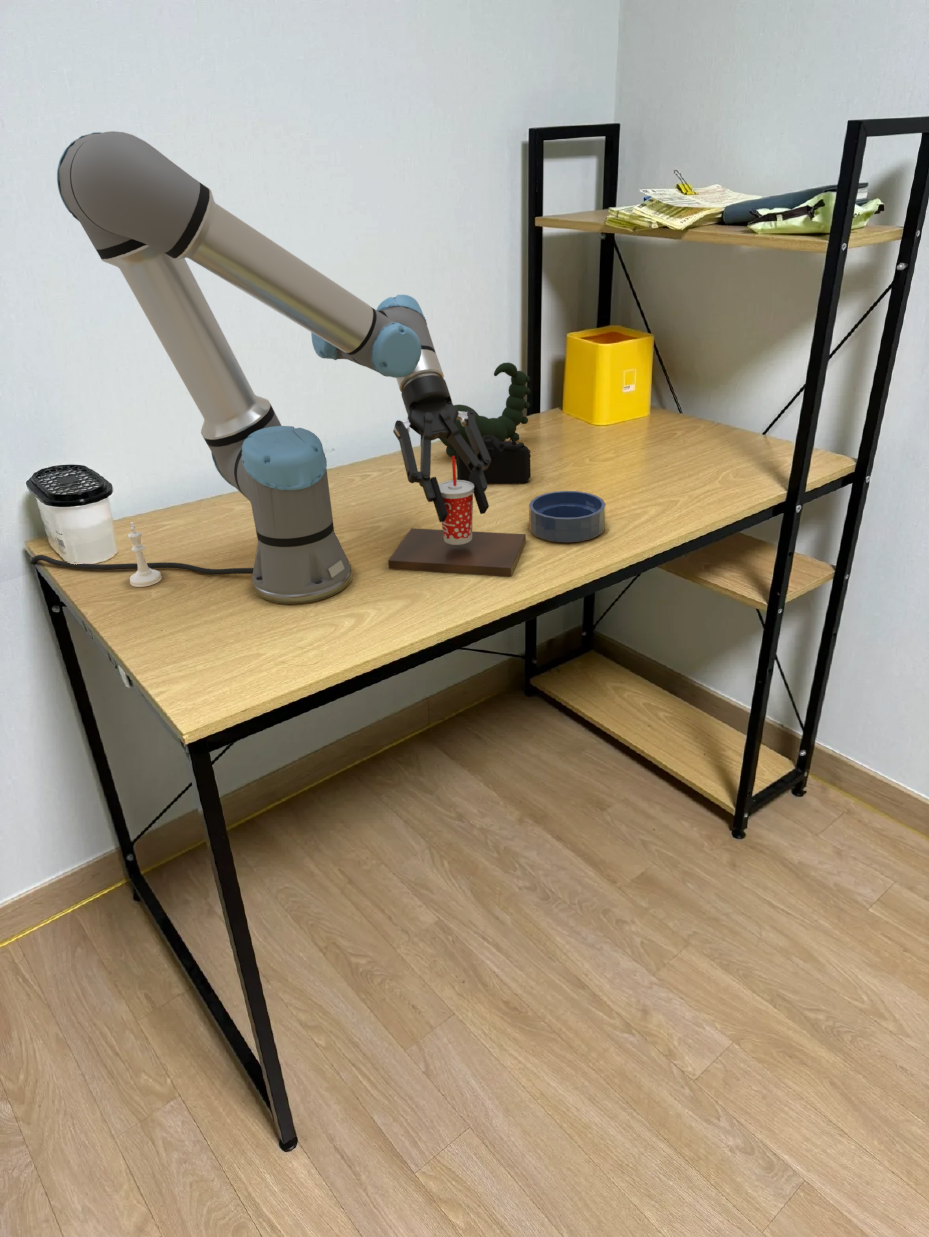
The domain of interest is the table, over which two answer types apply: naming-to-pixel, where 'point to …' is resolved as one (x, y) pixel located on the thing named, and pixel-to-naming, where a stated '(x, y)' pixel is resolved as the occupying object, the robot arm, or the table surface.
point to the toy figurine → (510, 415)
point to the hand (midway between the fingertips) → (464, 514)
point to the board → (459, 553)
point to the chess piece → (141, 563)
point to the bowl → (567, 516)
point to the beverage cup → (457, 509)
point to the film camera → (501, 462)
